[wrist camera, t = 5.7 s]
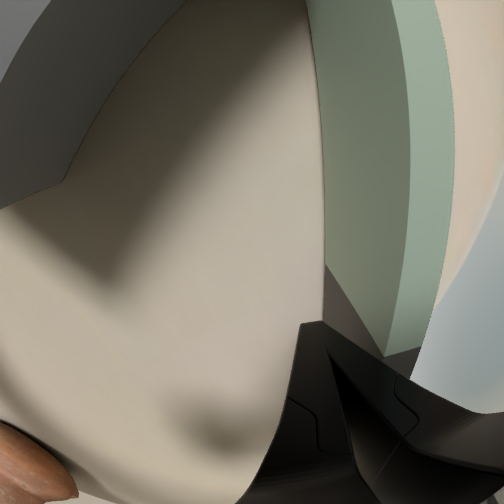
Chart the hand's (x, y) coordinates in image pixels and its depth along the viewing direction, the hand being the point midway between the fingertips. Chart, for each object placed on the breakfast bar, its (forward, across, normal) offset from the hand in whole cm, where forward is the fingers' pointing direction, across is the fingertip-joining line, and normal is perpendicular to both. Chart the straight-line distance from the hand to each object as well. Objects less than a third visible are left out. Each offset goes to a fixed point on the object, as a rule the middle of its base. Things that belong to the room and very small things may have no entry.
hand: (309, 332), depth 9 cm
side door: (+3, -2, -6) cm, 7 cm away
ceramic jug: (+4, +31, +20) cm, 37 cm away
